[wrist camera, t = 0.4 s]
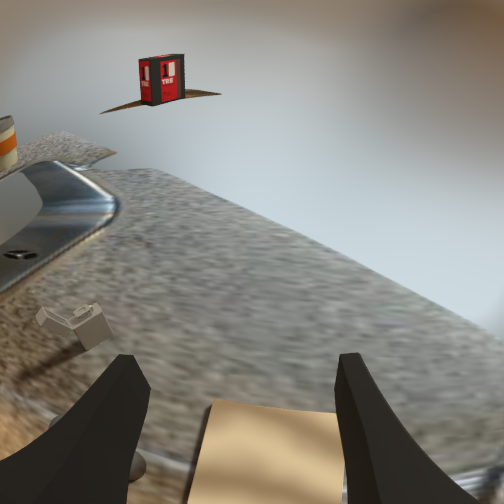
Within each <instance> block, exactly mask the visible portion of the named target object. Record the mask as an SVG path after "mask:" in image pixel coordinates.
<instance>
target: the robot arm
mask: <svg viewBox="0 0 504 504" xmlns="http://www.w3.org/2000/svg"><path fill="white" fill-rule="evenodd" d="M150 390H151V387H150V386H149V384H148V382H147V380H146V378H145V377H144V375H143V373H142V371H141V369H140V367H139V365H138V364H137V362H136V360H135V358H134V356H133V355H122V354H119V355H118V356H117V357H116V358H115V359H114V361H113V362H112V363H111V364H110V365H109V366H108V367H107V369H106V370H105V371H104V372H103V373H102V374H101V376H100V377H99V378H98V379H97V380H96V381H95V382H94V384H93V385H92V386H91V387H90V388H89V389H88V390H87V391H86V393H85V394H84V395H83V396H82V397H81V398H80V399H79V400H78V401H77V402H76V403H75V404H74V405H73V407H72V408H71V409H70V410H69V411H68V412H67V413H66V414H65V415H64V416H63V417H62V418H61V419H60V420H58V421H57V422H56V423H55V424H54V425H53V426H52V427H51V428H49V429H48V430H47V431H46V432H45V433H43V434H42V435H41V436H39V437H38V438H37V439H35V440H34V441H33V442H31V443H30V444H29V445H27V446H26V447H24V448H22V449H21V450H19V451H18V452H16V453H14V454H13V455H11V456H9V457H7V458H5V459H3V460H1V461H0V504H126V502H127V492H128V483H129V476H130V470H131V465H132V461H133V457H134V453H135V450H136V447H137V443H138V440H139V437H140V433H141V430H142V427H143V423H144V420H145V417H146V413H147V408H148V403H149V396H150ZM334 391H335V405H336V416H337V421H338V427H339V432H340V438H341V444H342V449H343V455H344V461H345V467H346V475H347V495H348V504H482V503H481V502H480V501H478V500H477V499H475V498H474V497H473V496H471V495H470V494H469V493H467V492H466V491H465V490H463V489H462V488H461V487H460V486H459V485H458V484H456V483H455V482H454V481H453V480H452V479H451V478H450V477H448V476H447V475H446V474H445V473H444V472H443V471H442V470H441V469H440V468H439V467H438V466H437V465H436V464H435V463H434V462H433V461H432V460H431V459H430V458H429V457H428V455H427V454H426V453H425V452H424V451H423V450H422V449H421V448H420V446H419V445H418V444H417V443H416V442H415V440H414V439H413V438H412V437H411V436H410V434H409V433H408V432H407V430H406V429H405V428H404V426H403V425H402V424H401V422H400V421H399V419H398V418H397V417H396V415H395V414H394V412H393V411H392V409H391V408H390V406H389V405H388V403H387V401H386V400H385V398H384V397H383V395H382V394H381V392H380V390H379V389H378V387H377V385H376V383H375V382H374V380H373V378H372V376H371V375H370V373H369V371H368V369H367V367H366V365H365V363H364V361H363V359H362V357H361V355H360V354H359V353H348V354H340V357H339V363H338V369H337V376H336V382H335V387H334Z"/></svg>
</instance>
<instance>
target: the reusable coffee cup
mask: <svg viewBox="0 0 504 504" xmlns="http://www.w3.org/2000/svg"><path fill="white" fill-rule="evenodd" d="M16 146H17V142H16V133H15V131H14V121H13V118H12V116H11V115H9V116H5V117H2V118H0V171H3V170H5V169H7V168H9V167H11V166H13V165H14V164H15V163H16V162H17V161H18V159H17V151H16Z"/></svg>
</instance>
